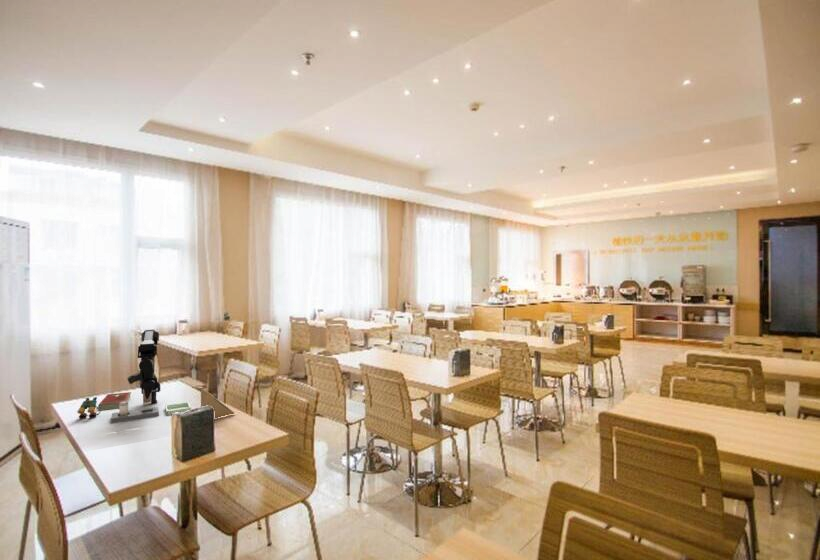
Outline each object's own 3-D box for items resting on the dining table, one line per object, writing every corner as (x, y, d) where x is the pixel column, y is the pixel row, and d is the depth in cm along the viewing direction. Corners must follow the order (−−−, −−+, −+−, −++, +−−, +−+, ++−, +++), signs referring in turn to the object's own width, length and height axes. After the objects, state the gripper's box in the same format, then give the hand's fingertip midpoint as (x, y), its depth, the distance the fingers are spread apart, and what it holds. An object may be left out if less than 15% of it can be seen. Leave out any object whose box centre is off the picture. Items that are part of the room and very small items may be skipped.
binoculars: (78, 423, 213) (73, 409, 208) (84, 408, 220) (79, 395, 215) (99, 421, 216) (95, 408, 211) (105, 407, 223) (101, 394, 218)
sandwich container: (237, 414, 220) (237, 386, 220) (206, 421, 210) (206, 391, 210) (231, 411, 227) (231, 383, 227) (200, 417, 216) (200, 388, 216)
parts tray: (165, 409, 228) (165, 405, 228) (188, 406, 234) (188, 402, 234) (166, 416, 218) (166, 411, 218) (191, 412, 224) (191, 407, 224)
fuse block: (112, 418, 214) (112, 413, 214) (158, 411, 225) (158, 406, 225) (111, 423, 206) (111, 418, 206) (158, 416, 217) (158, 411, 217)
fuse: (119, 417, 213) (119, 401, 213) (128, 416, 215) (128, 400, 215) (119, 419, 210) (119, 403, 210) (128, 418, 212) (128, 402, 212)
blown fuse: (143, 403, 219) (142, 387, 219) (151, 402, 221) (151, 386, 221) (143, 405, 216) (143, 389, 216) (151, 404, 218) (151, 388, 218)
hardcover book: (98, 411, 227) (98, 403, 227) (106, 401, 246) (106, 393, 246) (124, 408, 232) (124, 400, 232) (131, 398, 251) (131, 391, 251)
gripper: (128, 366, 222) (128, 395, 222) (128, 372, 206) (128, 404, 206) (153, 363, 228) (153, 392, 228) (154, 370, 212) (154, 401, 212)
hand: (147, 397), depth 218 cm, fingers closed on blown fuse, 4 cm apart
